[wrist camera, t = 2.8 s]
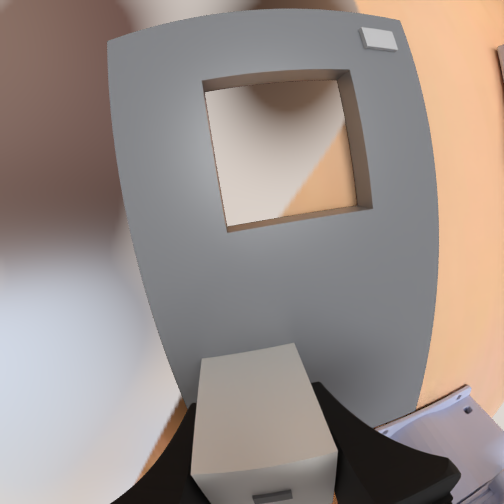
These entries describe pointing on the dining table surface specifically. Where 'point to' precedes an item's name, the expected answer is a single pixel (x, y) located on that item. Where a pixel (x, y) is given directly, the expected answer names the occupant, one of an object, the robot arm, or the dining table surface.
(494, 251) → the dining table surface
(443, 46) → the dining table surface
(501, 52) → the charger
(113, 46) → the socket board
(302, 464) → the charger
